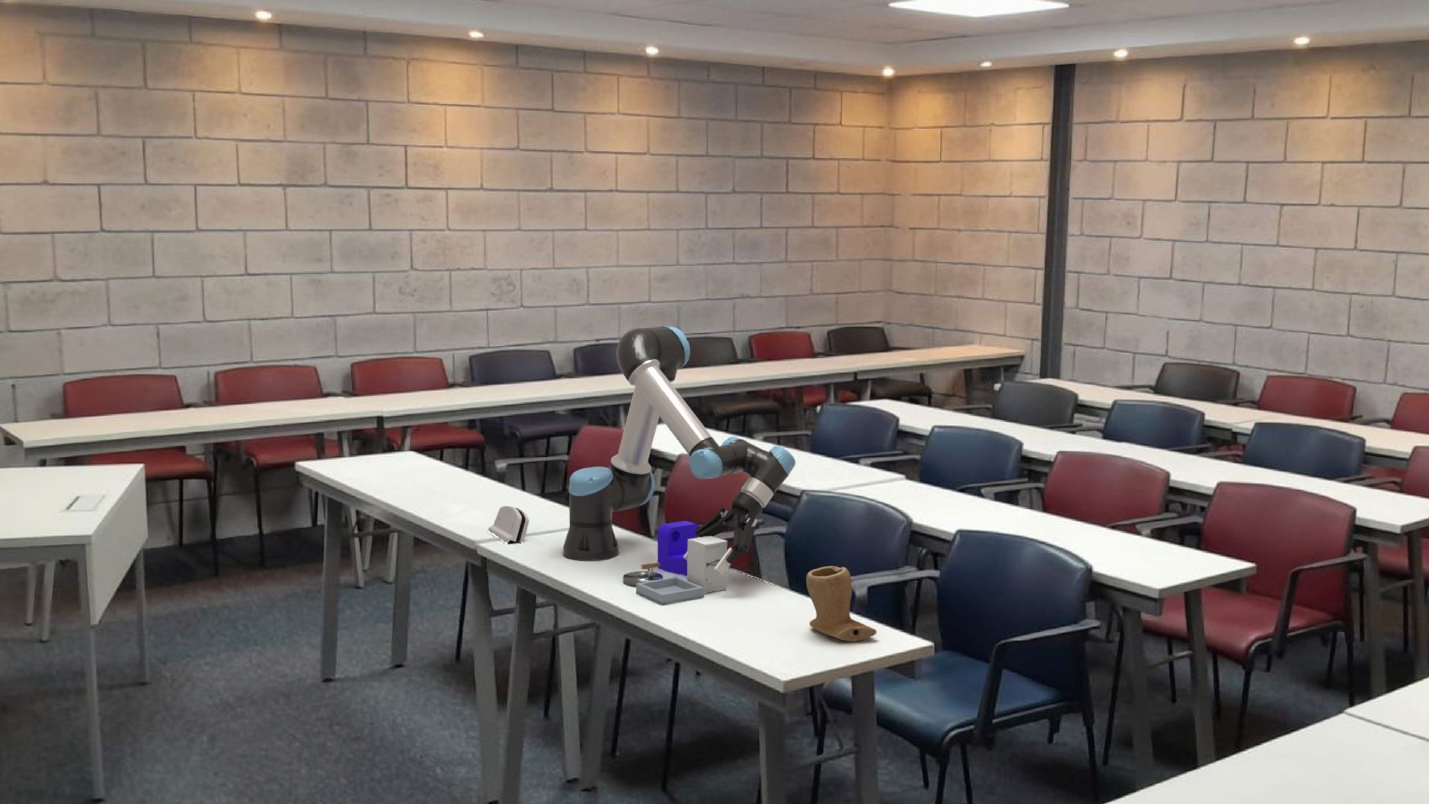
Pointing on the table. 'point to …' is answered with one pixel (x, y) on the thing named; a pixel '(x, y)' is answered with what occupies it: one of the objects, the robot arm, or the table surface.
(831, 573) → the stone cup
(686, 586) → the tray
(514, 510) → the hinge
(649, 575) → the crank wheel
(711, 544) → the supplement box
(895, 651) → the table surface
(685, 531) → the bracket
